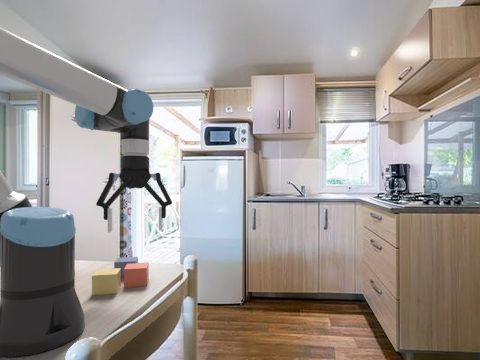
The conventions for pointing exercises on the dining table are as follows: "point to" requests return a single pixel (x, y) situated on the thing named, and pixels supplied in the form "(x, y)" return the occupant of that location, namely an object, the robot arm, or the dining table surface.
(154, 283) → the dining table surface
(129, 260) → the blue cube
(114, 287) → the mustard brick
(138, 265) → the red brick
